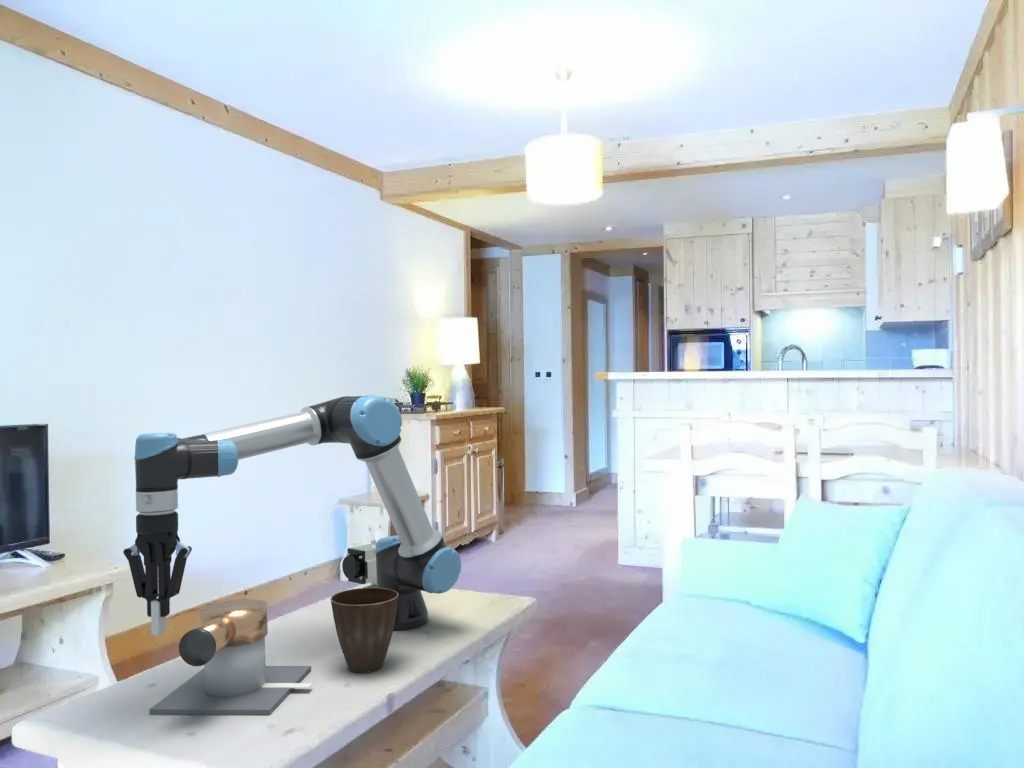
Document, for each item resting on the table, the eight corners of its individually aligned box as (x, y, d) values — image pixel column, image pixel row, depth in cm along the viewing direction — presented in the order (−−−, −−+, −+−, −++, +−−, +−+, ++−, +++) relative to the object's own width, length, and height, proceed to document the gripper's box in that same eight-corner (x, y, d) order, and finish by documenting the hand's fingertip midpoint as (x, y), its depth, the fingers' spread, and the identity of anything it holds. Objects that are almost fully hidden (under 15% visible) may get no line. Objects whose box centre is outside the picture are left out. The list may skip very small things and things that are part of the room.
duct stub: (328, 670, 174) (327, 620, 174) (290, 715, 150) (288, 657, 150) (206, 670, 176) (205, 621, 176) (149, 714, 152) (148, 657, 152)
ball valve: (360, 609, 222) (358, 547, 222) (342, 604, 228) (340, 543, 228) (408, 596, 236) (407, 537, 236) (390, 592, 241) (389, 534, 242)
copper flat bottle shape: (218, 629, 170) (217, 597, 170) (277, 628, 169) (276, 597, 169) (162, 666, 147) (162, 630, 147) (230, 666, 146) (229, 629, 146)
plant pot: (397, 653, 184) (396, 585, 184) (402, 675, 169) (400, 601, 170) (332, 659, 181) (331, 590, 181) (332, 682, 166) (330, 607, 166)
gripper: (114, 515, 150) (115, 639, 149) (179, 514, 149) (181, 639, 148) (135, 509, 157) (137, 627, 157) (198, 508, 156) (200, 627, 156)
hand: (158, 633), depth 153 cm, fingers closed
